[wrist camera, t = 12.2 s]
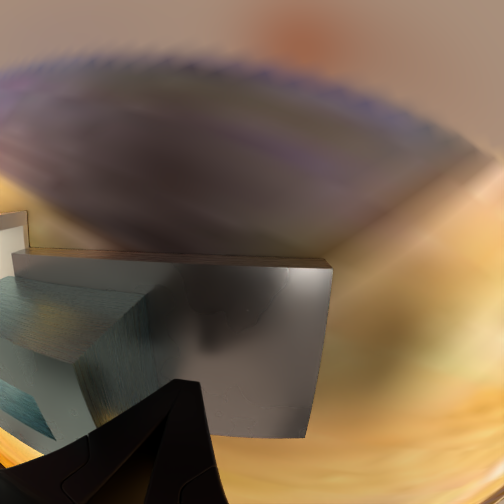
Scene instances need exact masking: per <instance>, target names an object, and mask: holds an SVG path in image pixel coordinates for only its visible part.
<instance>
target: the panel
mask: <svg viewBox="0 0 504 504" xmlns="http://www.w3.org/2000/svg"><path fill="white" fill-rule="evenodd" d="M11 255H12V262H13V269H14V275H15V277H19V278H25V279H31V280H37V281H43V282H50V283H57V284H63V285H70V286H78V287H85V288H93V289H101V290H109V291H118V292H127V293H137V294H146V303H147V312H148V321H149V330H150V337H151V344H152V351H153V358H154V364H155V370H156V376H157V381H158V387H159V388H161V387H162V386H164V385H165V384H167V383H168V382H170V381H171V380H173V379H184V380H191V381H199V382H200V384H201V389H202V395H203V400H204V406H205V411H206V417H207V422H208V427H209V432H210V434H211V435H221V436H232V437H247V438H305V435H306V431H307V426H308V422H309V418H310V413H311V408H312V404H313V399H314V394H315V389H316V384H317V379H318V373H319V368H320V362H321V356H322V350H323V344H324V337H325V331H326V324H327V316H328V309H329V301H330V293H331V284H332V274H333V268H332V267H331V266H330V265H329V264H328V262H327V261H326V260H325V259H311V258H282V257H254V256H226V255H200V254H174V253H149V252H124V251H101V250H77V249H55V248H33V247H29V248H26V249H23V250H19V251H16V252H13V253H11Z"/></svg>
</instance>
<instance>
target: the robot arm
mask: <svg viewBox="0 0 504 504" xmlns="http://www.w3.org/2000/svg"><path fill="white" fill-rule="evenodd" d="M0 504H229V503H228V500H227V498H226V496H225V493H224V489H223V486H222V483H221V480H220V476H219V471H218V468H217V464H216V459H215V455H214V450H213V446H212V441H211V436H210V432H209V427H208V422H207V417H206V411H205V406H204V400H203V395H202V389H201V384H200V382H199V381H191V380H184V379H173V380H171V381H170V382H168V383H167V384H165V385H164V386H162V387H161V388H159V389H158V390H156V391H155V392H153V393H152V394H150V395H149V396H147V397H146V398H144V399H143V400H141V401H140V402H138V403H137V404H135V405H134V406H132V407H130V408H129V409H127V410H126V411H124V412H122V413H121V414H119V415H118V416H116V417H114V418H113V419H111V420H110V421H108V422H106V423H105V424H103V425H101V426H100V427H98V428H96V429H95V430H93V431H91V432H90V433H88V435H84V436H83V437H81V438H79V439H77V440H76V441H74V442H72V443H70V444H68V445H66V446H64V447H62V448H60V449H58V450H56V451H53V452H51V453H49V454H46V455H44V456H41V457H39V458H36V459H33V460H30V461H28V462H25V463H22V464H19V465H16V466H13V467H10V468H5V469H0Z"/></svg>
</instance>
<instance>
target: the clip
mask: <svg viewBox="0 0 504 504" xmlns="http://www.w3.org/2000/svg"><path fill="white" fill-rule="evenodd" d="M158 389H159V387H158V381H157V376H156V370H155V364H154V358H153V351H152V344H151V337H150V330H149V321H148V312H147V303H146V294H137V293H127V292H118V291H109V290H101V289H93V288H85V287H78V286H70V285H63V284H57V283H50V282H43V281H37V280H31V279H25V278H19V277H14V276H7V277H4V278H2V279H0V427H1V428H2V429H4V430H5V431H7V432H8V433H10V434H11V435H13V436H14V437H16V438H17V439H19V440H20V441H22V442H23V443H25V444H27V445H28V446H30V447H32V448H33V449H35V450H37V451H38V452H40V453H42V454H44V455H46V454H49V453H51V452H53V451H56V450H58V449H60V448H62V447H64V446H66V445H68V444H70V443H72V442H74V441H76V440H77V439H79V438H81V437H83V436H84V435H88V433H90V432H91V431H93V430H95V429H96V428H98V427H100V426H101V425H103V424H105V423H106V422H108V421H110V420H111V419H113V418H114V417H116V416H118V415H119V414H121V413H122V412H124V411H126V410H127V409H129V408H130V407H132V406H134V405H135V404H137V403H138V402H140V401H141V400H143V399H144V398H146V397H147V396H149V395H150V394H152V393H153V392H155V391H156V390H158Z"/></svg>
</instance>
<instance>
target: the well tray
mask: <svg viewBox="0 0 504 504" xmlns="http://www.w3.org/2000/svg"><path fill="white" fill-rule="evenodd" d="M26 248H29V238H28V225H27V211H17V212H6V213H0V279H2V278H4V277H7V276H14V277H15V275H14V269H13V262H12V255H11V253H13V252H16V251H19V250H23V249H26Z"/></svg>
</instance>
